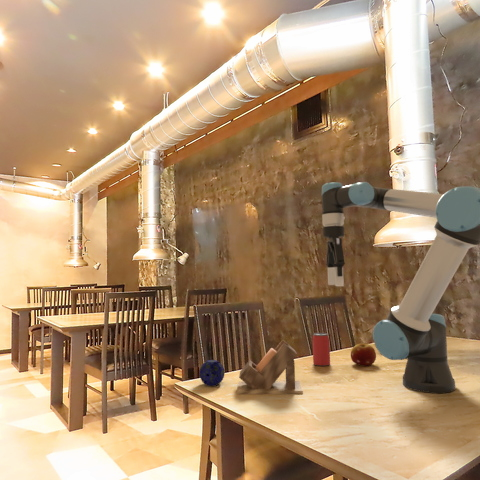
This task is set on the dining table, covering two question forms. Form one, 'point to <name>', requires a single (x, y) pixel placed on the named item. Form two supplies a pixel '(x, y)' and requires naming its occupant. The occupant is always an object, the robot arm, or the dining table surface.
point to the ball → (211, 372)
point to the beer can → (321, 349)
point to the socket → (271, 374)
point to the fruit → (363, 354)
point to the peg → (265, 360)
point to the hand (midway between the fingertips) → (335, 285)
